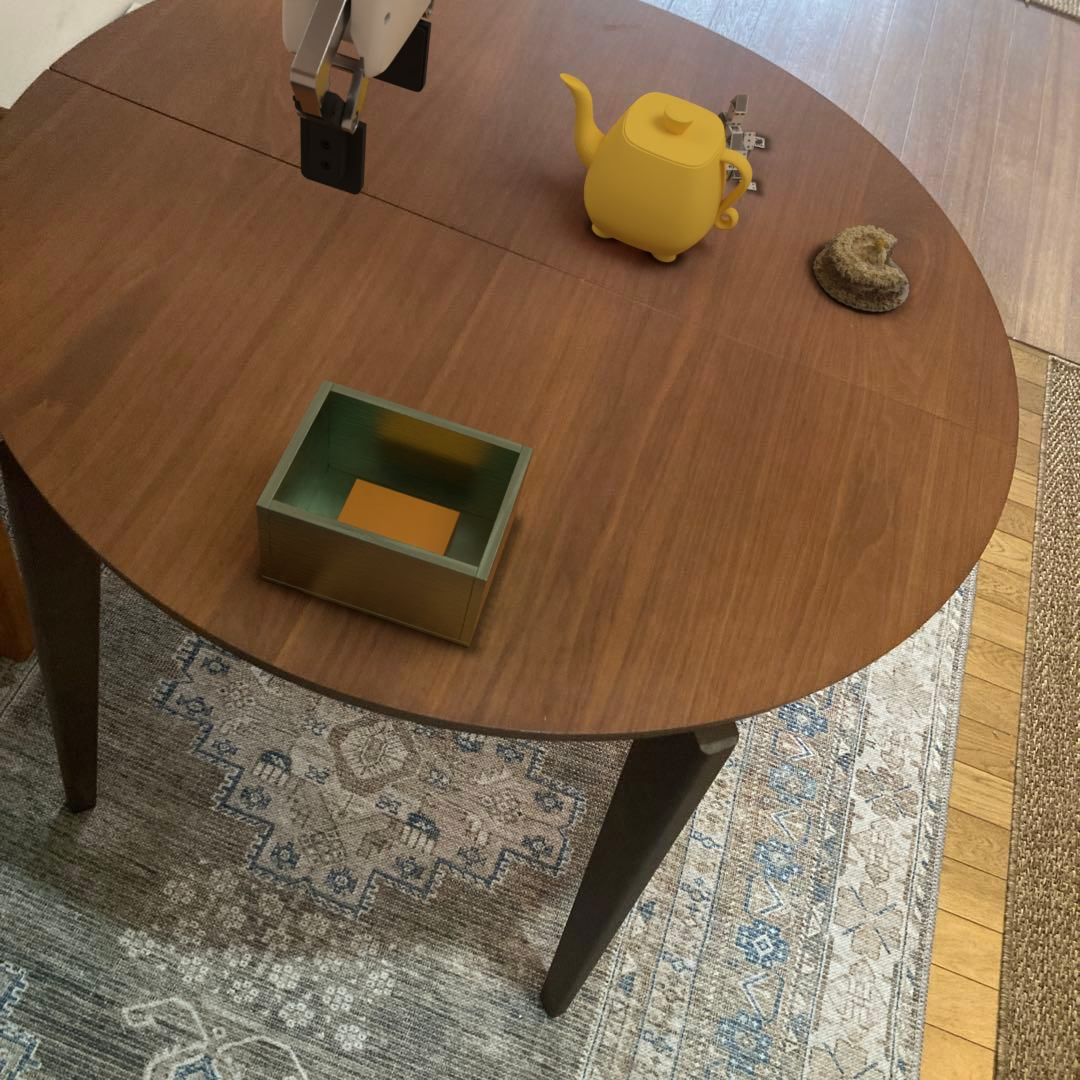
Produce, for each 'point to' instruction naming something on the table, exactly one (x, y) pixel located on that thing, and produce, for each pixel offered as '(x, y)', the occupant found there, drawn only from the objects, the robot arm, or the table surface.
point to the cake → (862, 269)
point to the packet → (400, 517)
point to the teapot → (656, 172)
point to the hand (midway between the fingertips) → (366, 130)
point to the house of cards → (738, 134)
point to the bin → (403, 466)
